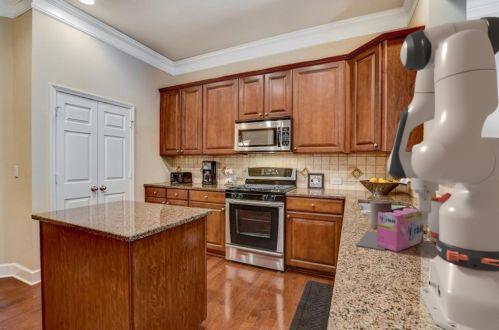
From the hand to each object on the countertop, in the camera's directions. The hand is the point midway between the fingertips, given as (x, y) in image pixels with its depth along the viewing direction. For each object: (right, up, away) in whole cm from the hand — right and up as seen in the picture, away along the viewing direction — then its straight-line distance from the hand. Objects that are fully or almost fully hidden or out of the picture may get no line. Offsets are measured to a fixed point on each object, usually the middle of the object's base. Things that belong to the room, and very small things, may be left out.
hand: (424, 221), depth 93 cm
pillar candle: (-1, -11, +30) cm, 32 cm away
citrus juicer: (+21, -11, +13) cm, 27 cm away
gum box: (-6, -11, +5) cm, 13 cm away
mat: (-14, -11, +10) cm, 20 cm away
